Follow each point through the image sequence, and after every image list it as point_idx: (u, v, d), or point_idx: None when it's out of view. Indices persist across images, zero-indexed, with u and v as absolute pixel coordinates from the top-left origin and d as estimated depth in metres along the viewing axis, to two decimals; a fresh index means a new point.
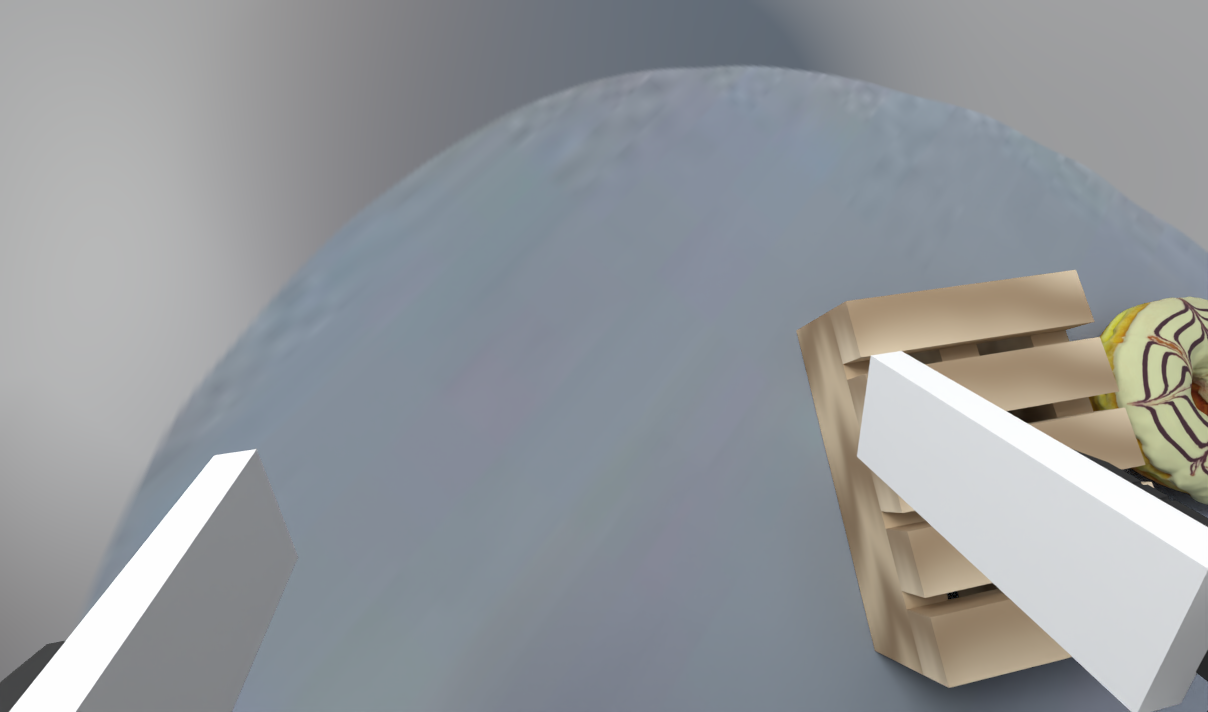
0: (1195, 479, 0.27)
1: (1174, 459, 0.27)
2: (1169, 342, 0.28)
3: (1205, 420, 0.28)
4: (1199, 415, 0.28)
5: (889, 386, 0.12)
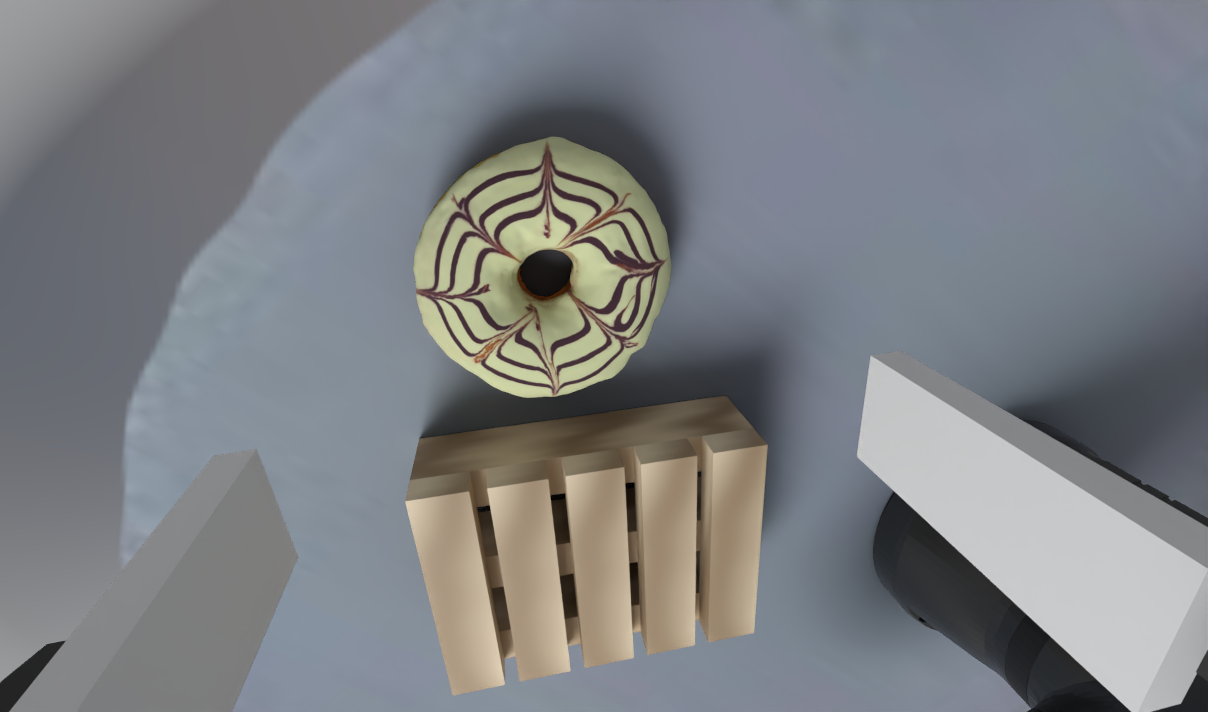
0: (641, 339, 0.25)
1: (618, 363, 0.25)
2: (484, 349, 0.23)
3: (581, 329, 0.23)
4: (575, 337, 0.23)
5: (889, 386, 0.12)
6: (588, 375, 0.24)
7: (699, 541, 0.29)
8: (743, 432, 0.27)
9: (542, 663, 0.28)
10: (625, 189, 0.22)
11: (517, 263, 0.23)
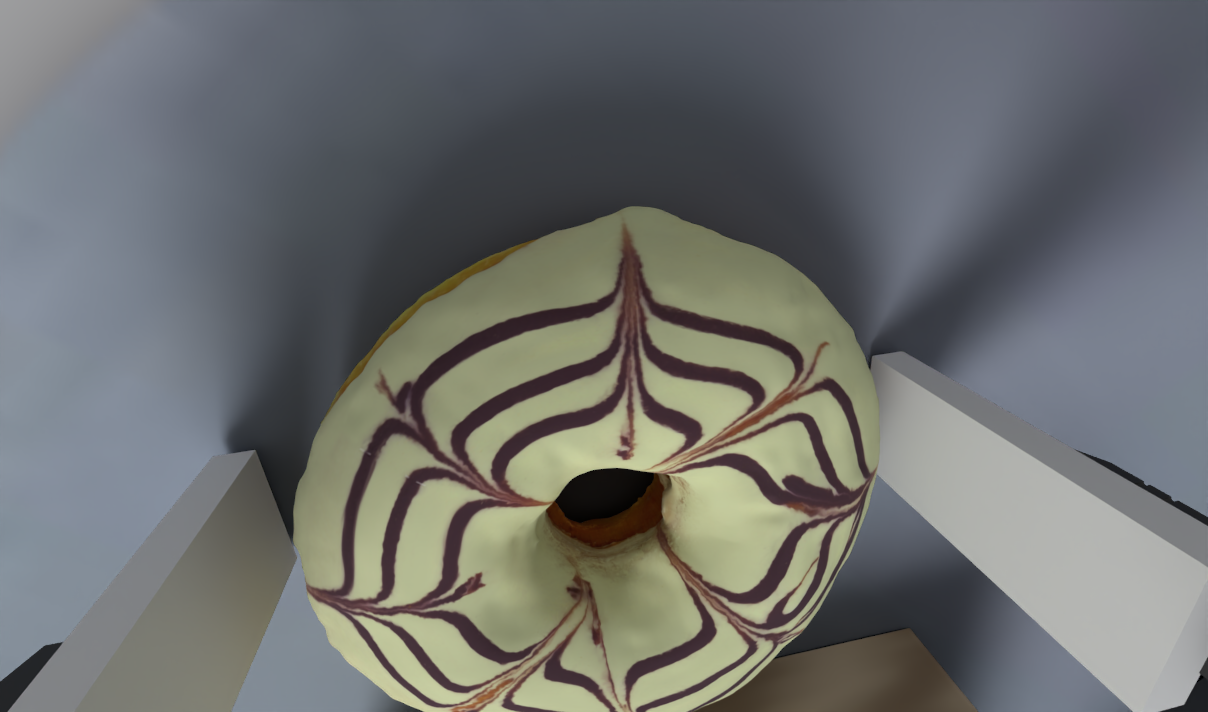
0: None
1: (760, 668, 0.12)
2: (474, 699, 0.10)
3: (694, 634, 0.10)
4: (680, 652, 0.10)
5: (891, 386, 0.12)
6: (700, 704, 0.11)
7: None
8: None
9: None
10: (815, 334, 0.09)
11: (549, 505, 0.09)
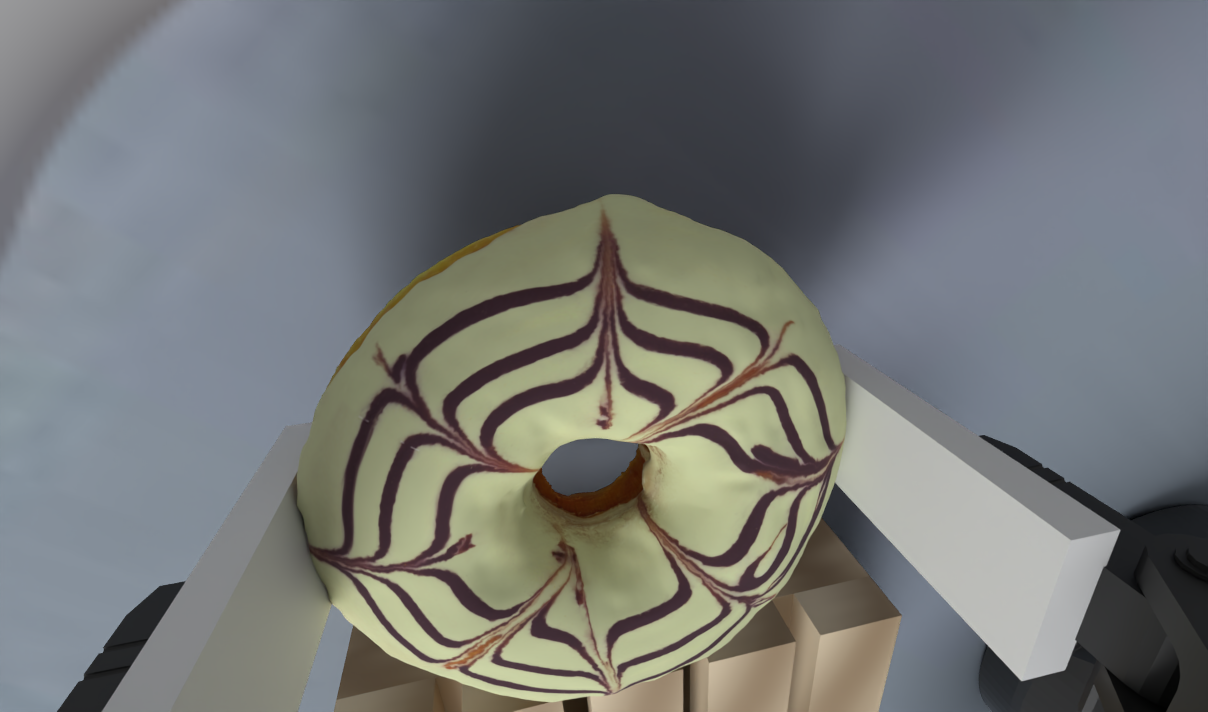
0: (783, 585, 0.12)
1: (735, 631, 0.12)
2: (465, 654, 0.11)
3: (671, 595, 0.11)
4: (658, 612, 0.11)
5: None
6: (678, 664, 0.12)
7: None
8: (855, 584, 0.17)
9: None
10: (781, 313, 0.10)
11: (534, 473, 0.10)
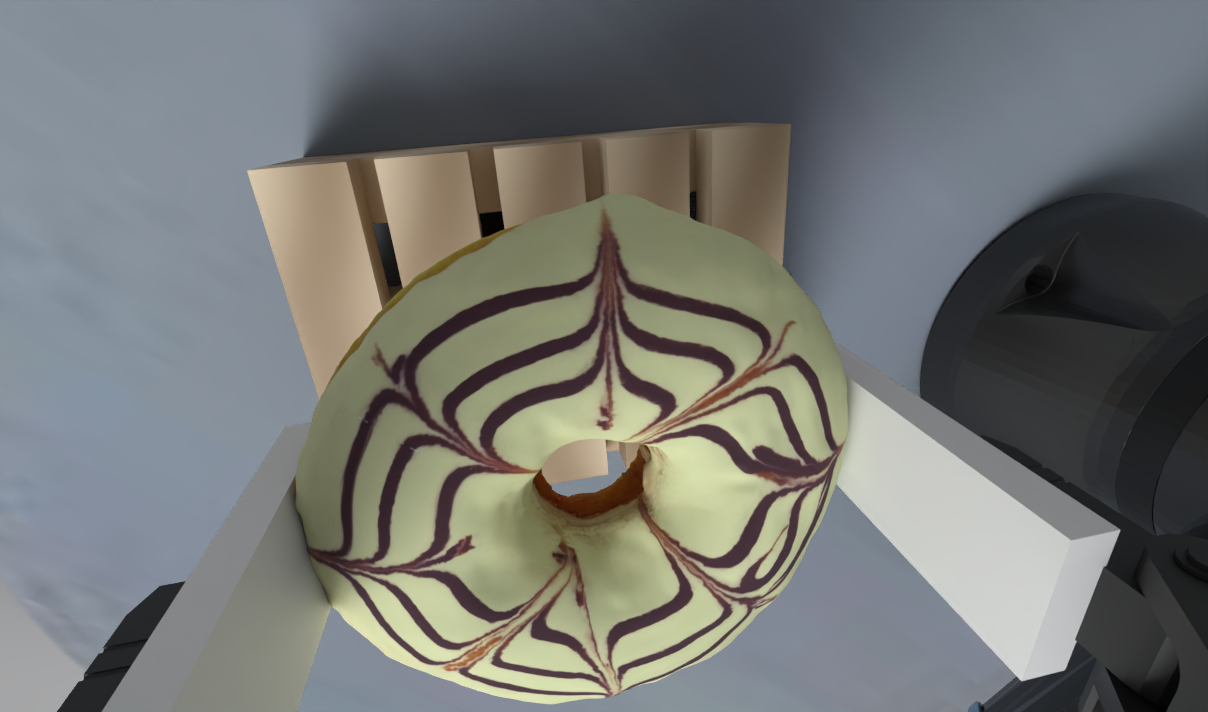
0: (784, 586, 0.12)
1: (736, 633, 0.12)
2: (465, 656, 0.10)
3: (672, 597, 0.11)
4: (659, 614, 0.11)
5: None
6: (679, 666, 0.12)
7: None
8: (755, 124, 0.19)
9: None
10: (783, 314, 0.09)
11: (534, 474, 0.10)
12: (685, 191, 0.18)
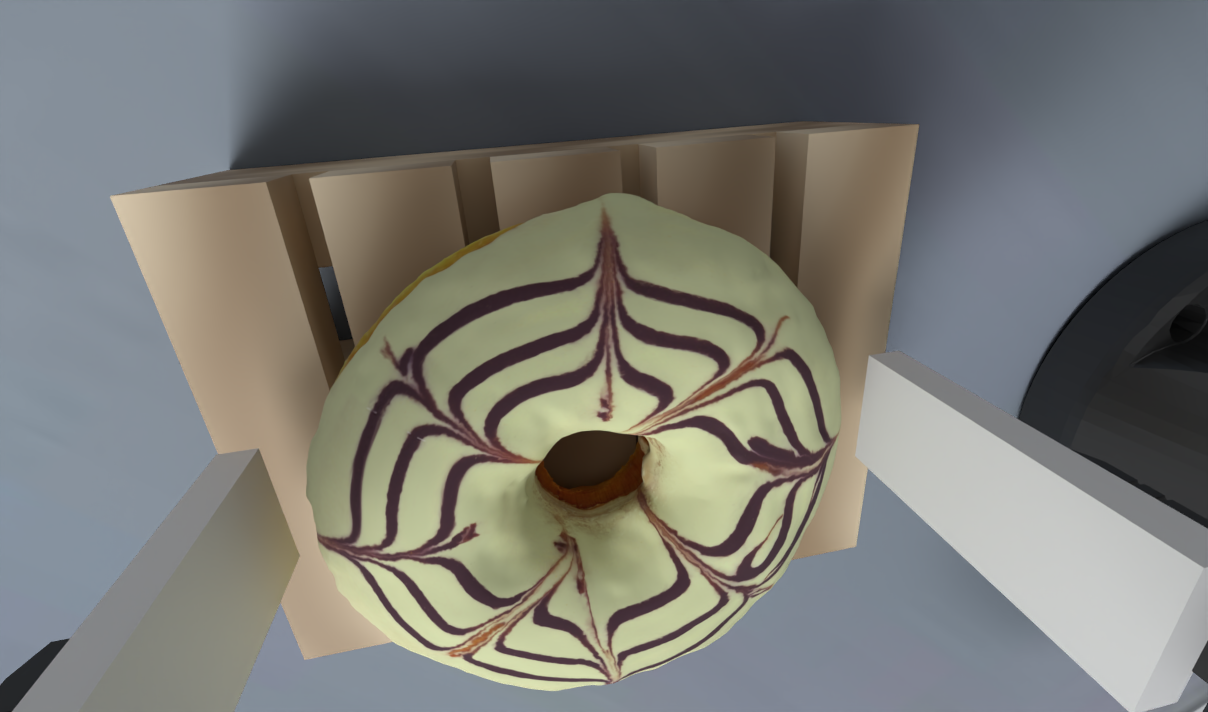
0: (779, 576, 0.13)
1: (733, 621, 0.13)
2: (469, 642, 0.11)
3: (670, 585, 0.11)
4: (657, 601, 0.11)
5: (887, 386, 0.12)
6: (677, 653, 0.12)
7: None
8: (858, 125, 0.13)
9: None
10: (776, 308, 0.10)
11: (537, 465, 0.10)
12: (765, 221, 0.12)
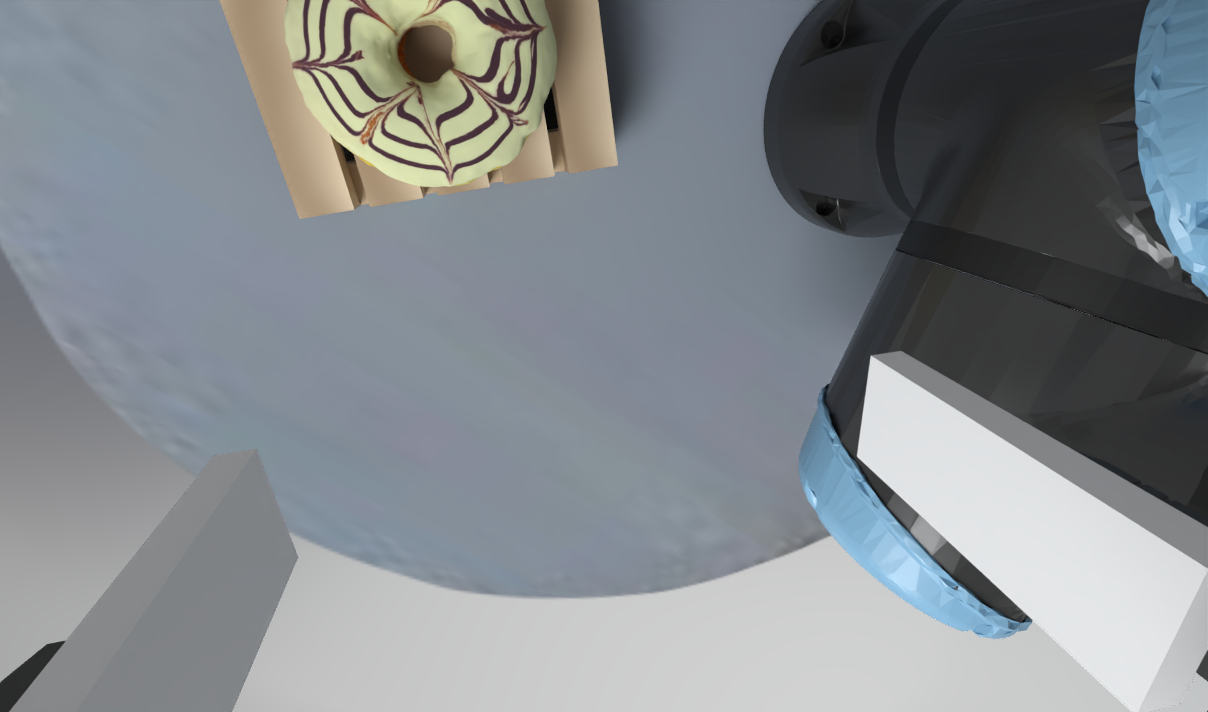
0: (531, 117, 0.25)
1: (510, 143, 0.25)
2: (368, 124, 0.23)
3: (464, 100, 0.23)
4: (459, 109, 0.23)
5: (889, 386, 0.12)
6: (480, 156, 0.24)
7: None
8: None
9: (390, 182, 0.27)
10: None
11: (391, 32, 0.23)
12: None
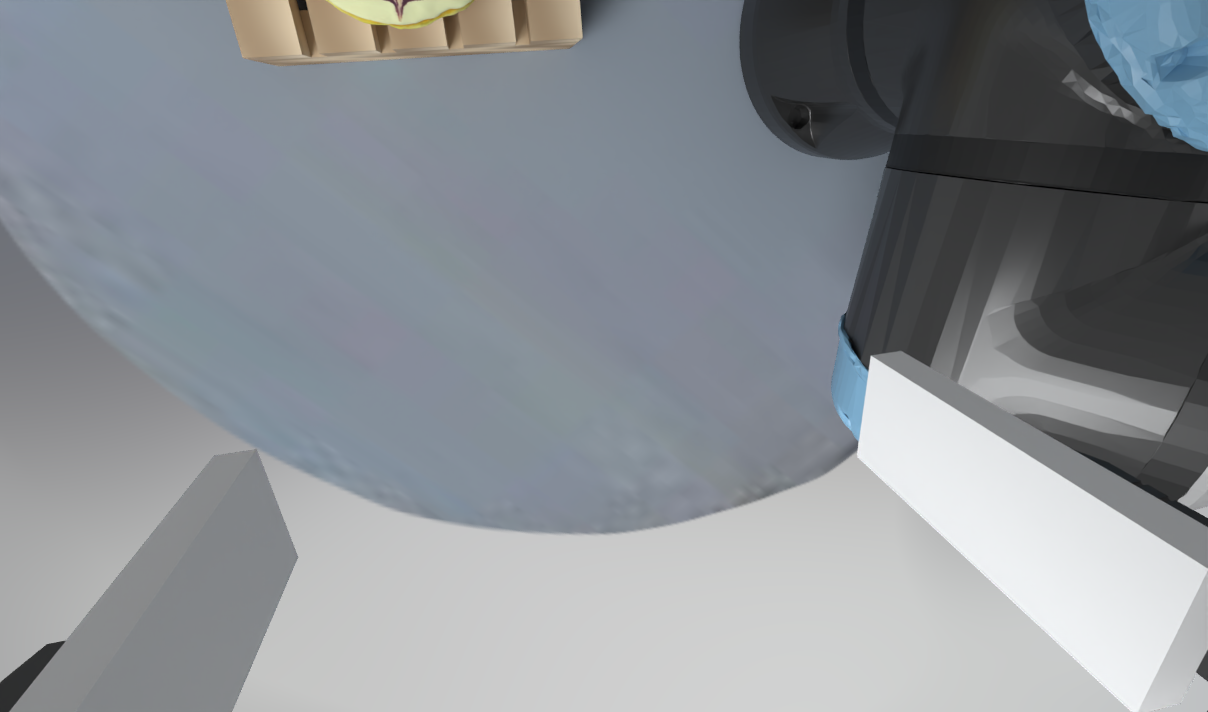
0: None
1: None
2: None
3: None
4: None
5: (889, 386, 0.12)
6: None
7: None
8: None
9: (341, 29, 0.26)
10: None
11: None
12: None
